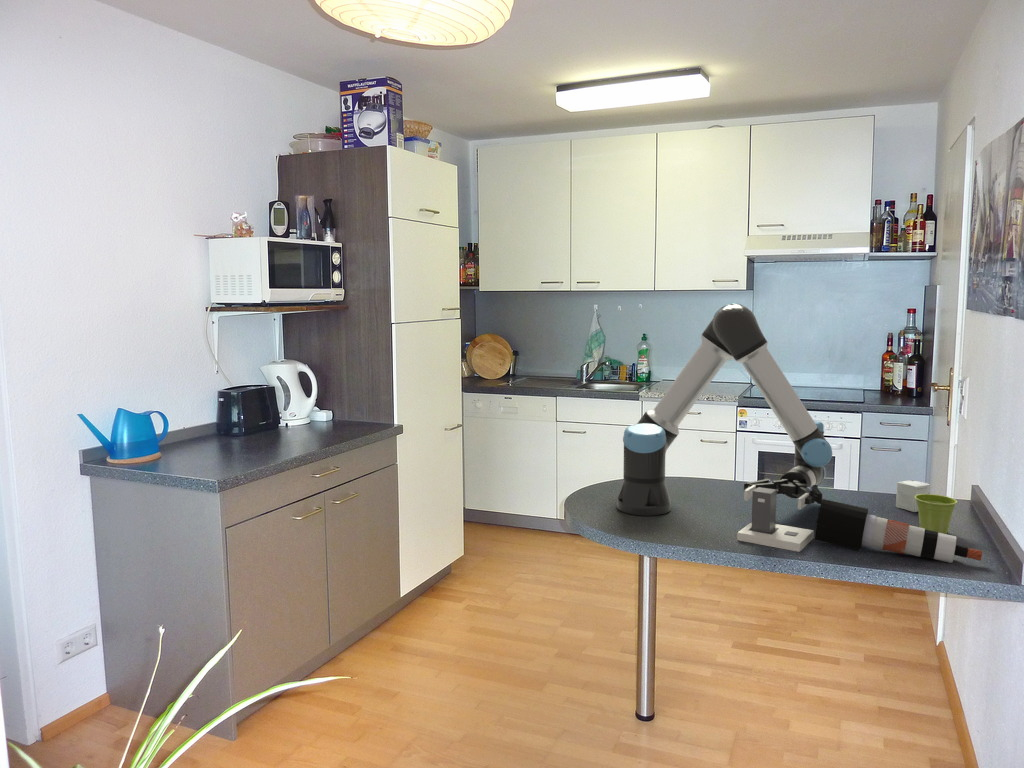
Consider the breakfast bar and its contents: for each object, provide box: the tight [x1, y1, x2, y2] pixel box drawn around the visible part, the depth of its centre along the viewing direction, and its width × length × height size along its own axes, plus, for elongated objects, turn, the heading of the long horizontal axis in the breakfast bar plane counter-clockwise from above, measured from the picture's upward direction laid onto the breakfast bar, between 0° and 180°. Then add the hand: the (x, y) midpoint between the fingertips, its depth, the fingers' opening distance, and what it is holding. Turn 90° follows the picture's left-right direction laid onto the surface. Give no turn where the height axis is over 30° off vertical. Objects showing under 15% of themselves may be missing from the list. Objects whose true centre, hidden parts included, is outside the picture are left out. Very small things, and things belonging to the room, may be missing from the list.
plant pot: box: [915, 493, 958, 535], centre depth 193 cm, size 9×9×9 cm
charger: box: [751, 487, 778, 535], centre depth 190 cm, size 4×5×12 cm
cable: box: [814, 498, 983, 564], centre depth 177 cm, size 10×34×10 cm, turn 58°
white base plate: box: [736, 521, 815, 553], centre depth 189 cm, size 15×12×2 cm
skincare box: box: [895, 479, 931, 513], centre depth 213 cm, size 6×6×7 cm
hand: (771, 499), depth 193 cm, fingers open, 13 cm apart
